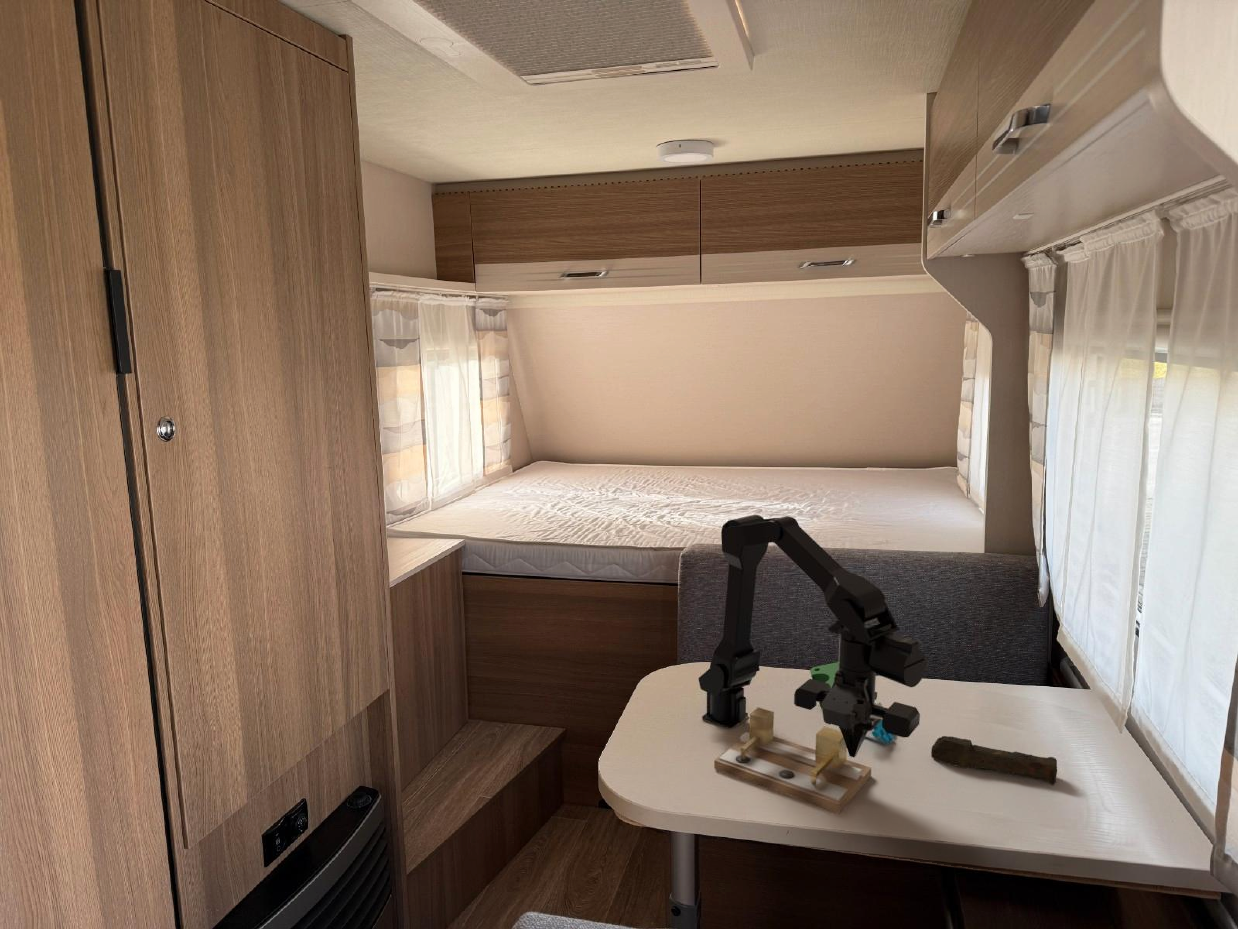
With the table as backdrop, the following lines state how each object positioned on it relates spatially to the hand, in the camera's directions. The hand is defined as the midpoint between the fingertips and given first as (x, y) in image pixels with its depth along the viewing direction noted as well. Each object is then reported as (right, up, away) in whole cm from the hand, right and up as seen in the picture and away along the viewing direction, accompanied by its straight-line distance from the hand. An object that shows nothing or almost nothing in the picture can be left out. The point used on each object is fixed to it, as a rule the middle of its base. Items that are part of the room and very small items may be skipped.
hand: (853, 756), depth 137 cm
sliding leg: (-5, -3, +1) cm, 5 cm away
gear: (+8, -2, +16) cm, 18 cm away
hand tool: (+24, -4, +4) cm, 25 cm away
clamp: (+4, 0, +30) cm, 30 cm away
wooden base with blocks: (-9, -4, +4) cm, 11 cm away
